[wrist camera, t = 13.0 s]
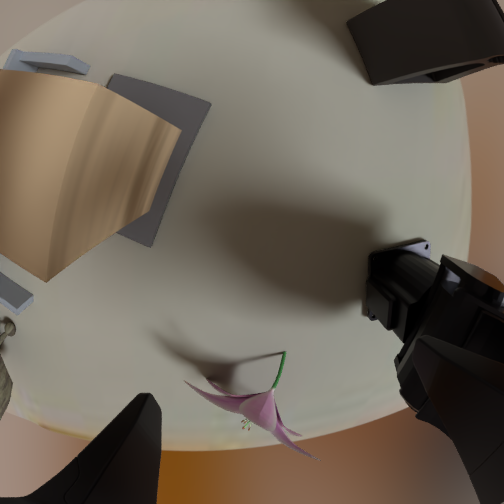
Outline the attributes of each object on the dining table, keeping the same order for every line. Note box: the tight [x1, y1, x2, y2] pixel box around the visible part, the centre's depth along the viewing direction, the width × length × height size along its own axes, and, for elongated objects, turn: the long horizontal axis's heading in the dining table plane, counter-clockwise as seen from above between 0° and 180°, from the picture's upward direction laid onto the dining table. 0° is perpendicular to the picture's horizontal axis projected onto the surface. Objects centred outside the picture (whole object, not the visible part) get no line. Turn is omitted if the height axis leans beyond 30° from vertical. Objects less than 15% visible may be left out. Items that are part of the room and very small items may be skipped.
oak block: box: [0, 69, 182, 283], centre depth 11 cm, size 6×6×12 cm
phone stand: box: [346, 0, 504, 86], centre depth 9 cm, size 9×6×12 cm, turn 107°
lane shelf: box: [0, 49, 90, 316], centre depth 15 cm, size 7×22×4 cm, turn 155°
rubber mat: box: [107, 73, 211, 248], centre depth 17 cm, size 8×11×1 cm
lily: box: [185, 352, 321, 461], centre depth 21 cm, size 12×12×10 cm
